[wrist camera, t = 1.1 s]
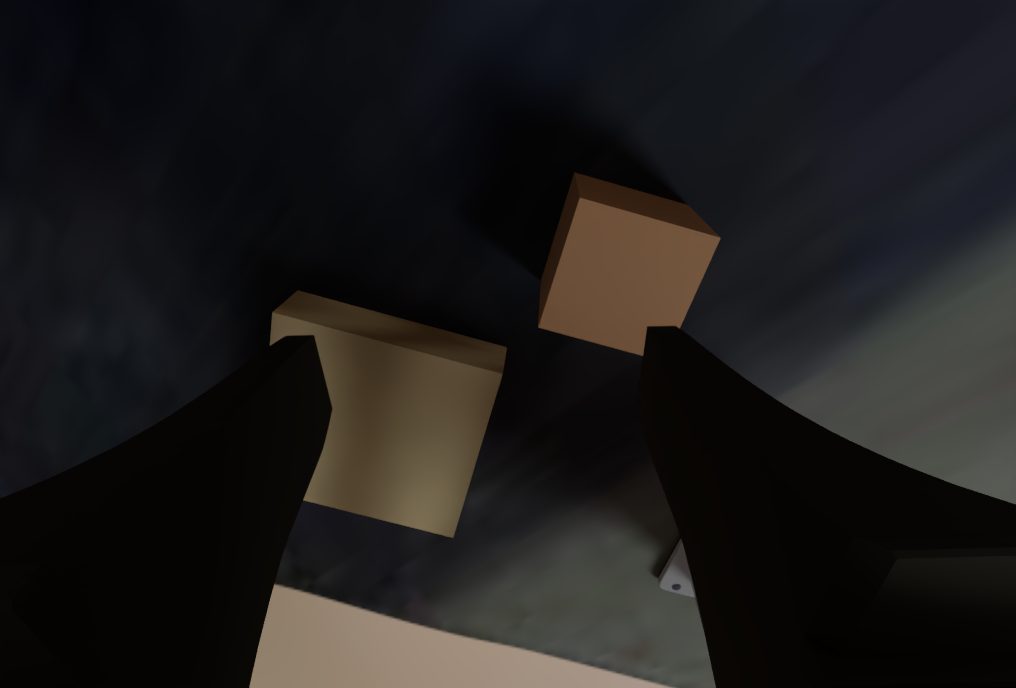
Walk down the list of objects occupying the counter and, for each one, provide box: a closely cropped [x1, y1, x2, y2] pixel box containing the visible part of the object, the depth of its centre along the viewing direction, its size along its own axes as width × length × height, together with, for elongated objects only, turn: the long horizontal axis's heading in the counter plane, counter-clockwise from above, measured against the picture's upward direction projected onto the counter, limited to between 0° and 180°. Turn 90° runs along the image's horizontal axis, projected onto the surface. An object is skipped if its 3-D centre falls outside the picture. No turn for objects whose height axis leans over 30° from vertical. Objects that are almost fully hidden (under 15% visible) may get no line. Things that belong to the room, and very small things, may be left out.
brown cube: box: [538, 172, 720, 356], centre depth 21 cm, size 5×5×5 cm
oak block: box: [270, 291, 507, 538], centre depth 27 cm, size 10×10×3 cm
